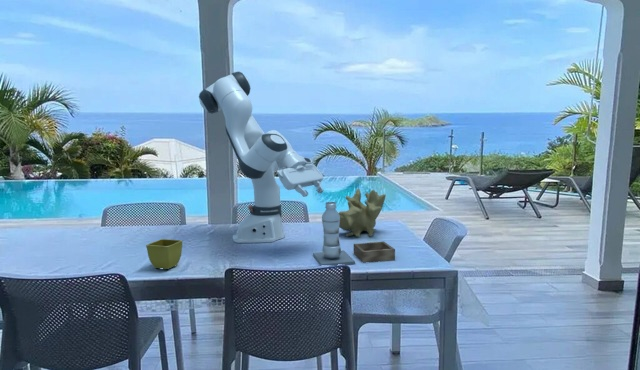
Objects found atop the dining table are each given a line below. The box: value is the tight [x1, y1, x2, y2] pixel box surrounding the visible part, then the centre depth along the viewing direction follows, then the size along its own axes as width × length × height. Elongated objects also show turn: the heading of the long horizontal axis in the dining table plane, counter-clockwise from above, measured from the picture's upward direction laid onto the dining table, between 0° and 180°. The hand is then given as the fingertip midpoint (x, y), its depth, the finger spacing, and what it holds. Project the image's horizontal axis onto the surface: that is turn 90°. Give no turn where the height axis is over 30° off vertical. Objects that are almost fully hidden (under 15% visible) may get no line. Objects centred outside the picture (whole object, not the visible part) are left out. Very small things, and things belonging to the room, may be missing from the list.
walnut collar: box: [353, 241, 396, 264], centre depth 161 cm, size 12×11×4 cm
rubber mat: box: [312, 250, 356, 266], centre depth 159 cm, size 12×14×1 cm
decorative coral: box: [338, 188, 386, 238], centre depth 194 cm, size 26×22×25 cm
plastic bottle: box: [321, 201, 342, 259], centre depth 156 cm, size 6×7×20 cm
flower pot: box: [145, 238, 184, 270], centre depth 152 cm, size 9×9×9 cm
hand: (314, 193), depth 162 cm, fingers open, 8 cm apart
